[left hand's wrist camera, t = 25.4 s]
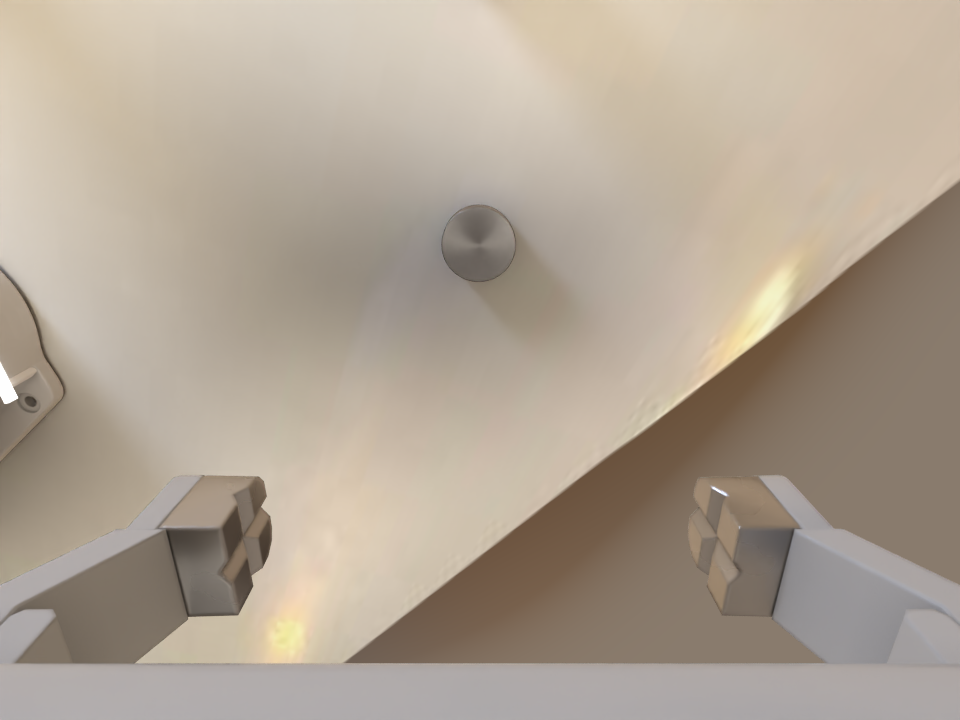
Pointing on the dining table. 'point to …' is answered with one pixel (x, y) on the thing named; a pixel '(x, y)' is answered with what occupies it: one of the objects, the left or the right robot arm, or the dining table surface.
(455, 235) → the lid
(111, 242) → the dining table surface
